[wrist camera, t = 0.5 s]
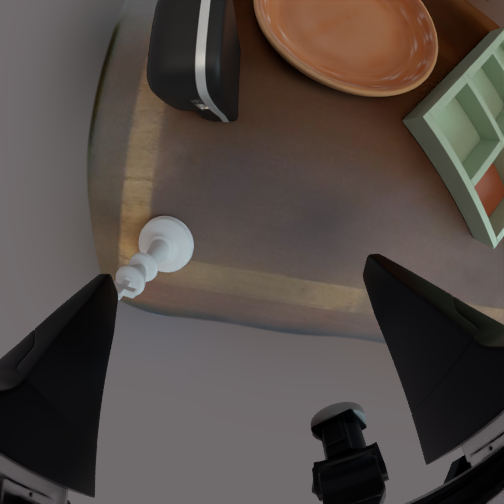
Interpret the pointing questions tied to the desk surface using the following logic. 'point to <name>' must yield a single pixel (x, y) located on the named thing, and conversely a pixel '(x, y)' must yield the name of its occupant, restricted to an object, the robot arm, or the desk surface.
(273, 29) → the saucer
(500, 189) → the compartment tray
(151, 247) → the chess piece
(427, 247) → the desk surface
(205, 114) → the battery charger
